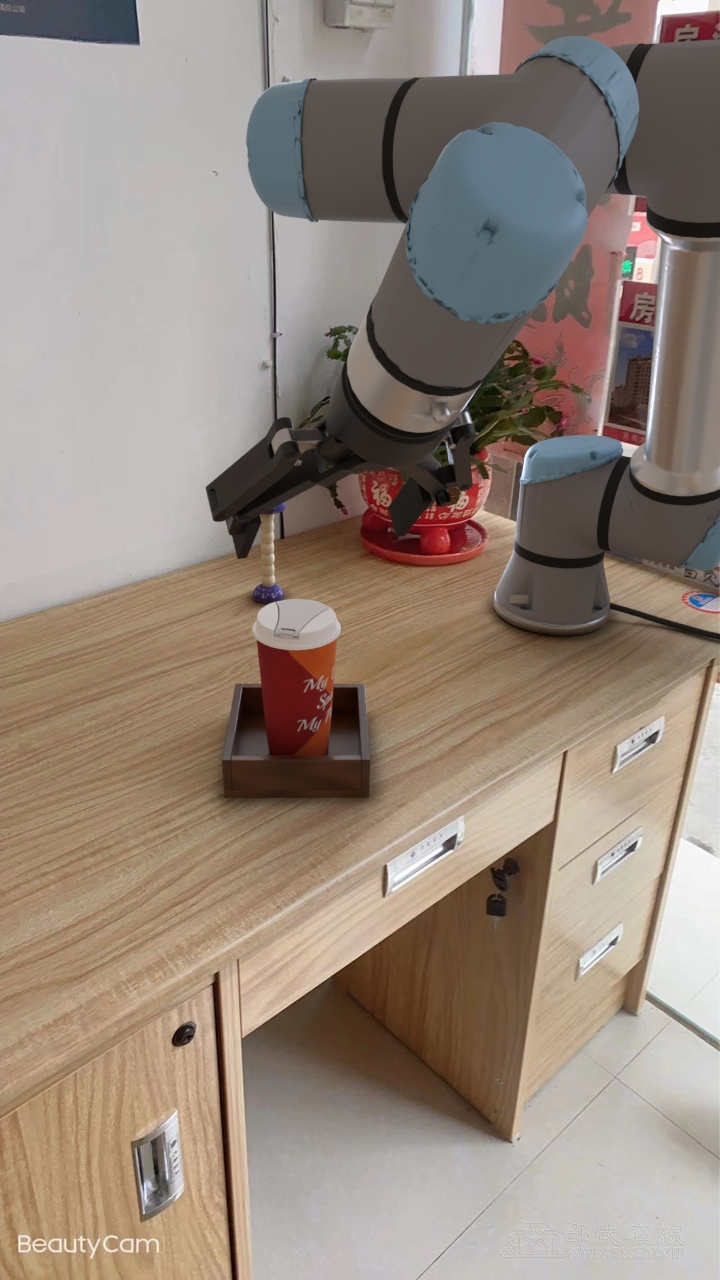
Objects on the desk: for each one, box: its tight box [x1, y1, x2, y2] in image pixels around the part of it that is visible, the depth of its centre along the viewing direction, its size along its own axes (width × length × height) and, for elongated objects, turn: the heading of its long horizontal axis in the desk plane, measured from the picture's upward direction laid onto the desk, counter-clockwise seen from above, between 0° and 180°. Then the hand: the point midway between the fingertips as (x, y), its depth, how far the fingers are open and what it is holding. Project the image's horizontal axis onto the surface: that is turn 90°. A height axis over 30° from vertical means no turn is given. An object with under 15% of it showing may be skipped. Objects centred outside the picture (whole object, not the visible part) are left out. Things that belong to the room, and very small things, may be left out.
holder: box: [221, 683, 371, 798], centre depth 88 cm, size 14×14×4 cm
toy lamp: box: [252, 502, 287, 604], centre depth 117 cm, size 5×5×17 cm
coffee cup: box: [251, 598, 342, 755], centre depth 85 cm, size 8×8×15 cm
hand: (319, 532), depth 72 cm, fingers open, 13 cm apart
